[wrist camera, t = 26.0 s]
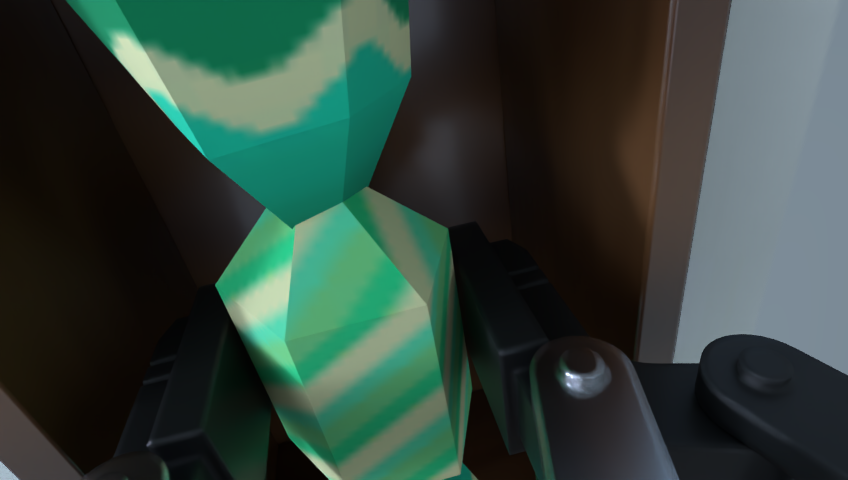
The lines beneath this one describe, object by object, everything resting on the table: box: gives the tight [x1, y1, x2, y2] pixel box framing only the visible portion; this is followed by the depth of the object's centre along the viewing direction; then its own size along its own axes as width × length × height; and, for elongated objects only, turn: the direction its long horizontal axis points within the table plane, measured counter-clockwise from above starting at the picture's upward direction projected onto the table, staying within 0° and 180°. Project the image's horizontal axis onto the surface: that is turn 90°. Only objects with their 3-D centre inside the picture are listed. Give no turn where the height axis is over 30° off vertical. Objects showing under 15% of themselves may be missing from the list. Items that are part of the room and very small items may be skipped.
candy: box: [66, 0, 478, 480], centre depth 9 cm, size 12×3×4 cm
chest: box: [0, 0, 732, 480], centre depth 11 cm, size 18×11×7 cm, turn 9°
